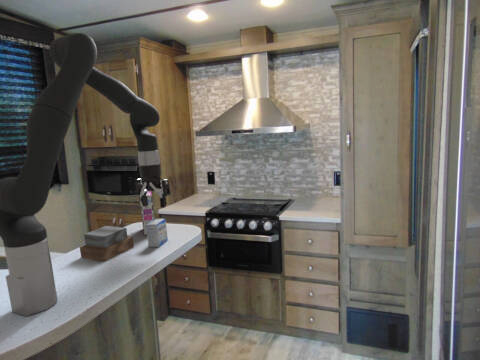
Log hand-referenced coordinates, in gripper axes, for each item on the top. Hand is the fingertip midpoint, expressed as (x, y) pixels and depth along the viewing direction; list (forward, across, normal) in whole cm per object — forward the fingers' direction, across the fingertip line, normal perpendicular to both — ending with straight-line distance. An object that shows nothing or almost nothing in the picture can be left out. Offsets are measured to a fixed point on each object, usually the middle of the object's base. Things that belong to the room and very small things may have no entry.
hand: (154, 206), depth 126 cm
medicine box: (+14, 0, 0) cm, 15 cm away
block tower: (+14, -12, -13) cm, 23 cm away
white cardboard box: (+14, -14, +11) cm, 23 cm away
